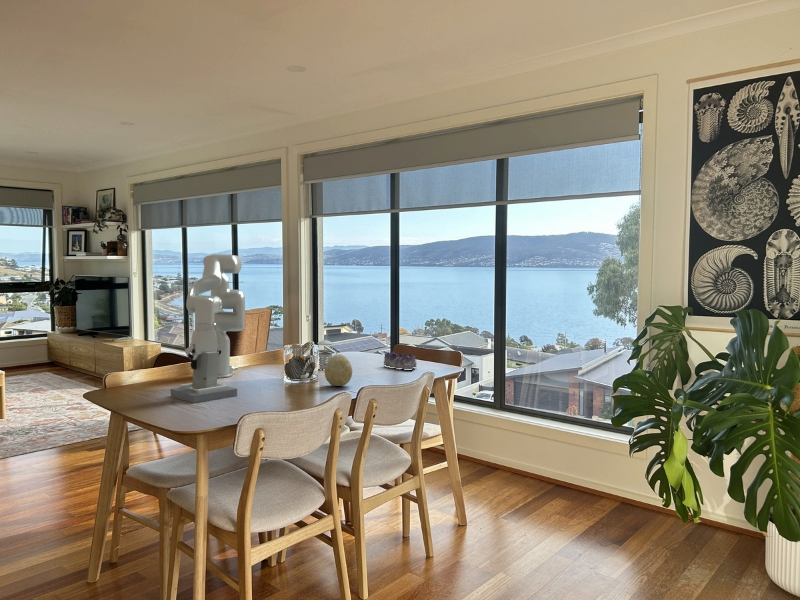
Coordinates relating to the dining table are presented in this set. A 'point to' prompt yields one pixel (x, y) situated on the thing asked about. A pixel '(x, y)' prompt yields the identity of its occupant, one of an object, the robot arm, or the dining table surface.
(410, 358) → the geode
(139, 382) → the dining table surface
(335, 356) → the fossilized egg
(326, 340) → the french press
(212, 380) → the skincare box
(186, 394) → the panel
